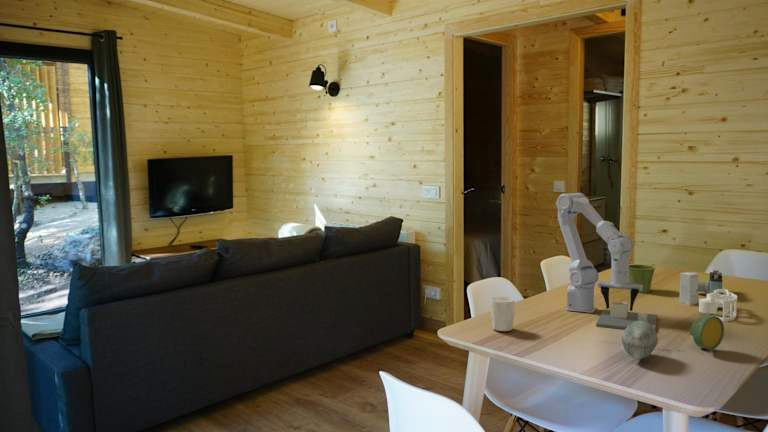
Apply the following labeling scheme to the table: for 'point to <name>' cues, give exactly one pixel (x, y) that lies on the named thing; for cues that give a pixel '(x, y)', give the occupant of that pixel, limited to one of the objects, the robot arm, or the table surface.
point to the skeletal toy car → (719, 304)
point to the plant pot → (641, 276)
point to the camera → (711, 283)
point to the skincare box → (688, 288)
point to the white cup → (502, 313)
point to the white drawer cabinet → (619, 309)
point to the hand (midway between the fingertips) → (619, 309)
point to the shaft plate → (624, 320)
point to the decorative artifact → (707, 331)
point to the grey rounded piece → (639, 339)
